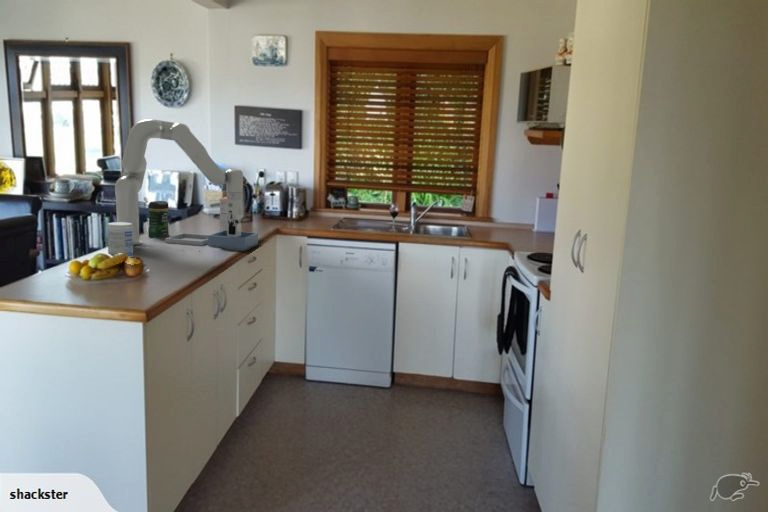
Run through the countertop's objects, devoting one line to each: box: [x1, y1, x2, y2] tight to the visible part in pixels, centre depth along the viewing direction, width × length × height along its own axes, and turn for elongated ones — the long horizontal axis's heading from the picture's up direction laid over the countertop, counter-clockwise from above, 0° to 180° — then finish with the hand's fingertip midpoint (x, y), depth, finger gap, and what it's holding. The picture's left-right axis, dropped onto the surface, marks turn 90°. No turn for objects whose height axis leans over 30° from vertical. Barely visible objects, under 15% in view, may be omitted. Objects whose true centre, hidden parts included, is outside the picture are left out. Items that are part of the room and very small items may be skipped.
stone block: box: [227, 222, 242, 237], centre depth 292 cm, size 5×5×6 cm
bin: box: [207, 230, 259, 252], centre depth 293 cm, size 18×18×6 cm
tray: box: [164, 232, 209, 247], centre depth 295 cm, size 18×18×3 cm
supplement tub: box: [107, 221, 134, 257], centre depth 251 cm, size 10×10×15 cm
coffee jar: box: [147, 200, 170, 239], centre depth 303 cm, size 10×8×19 cm
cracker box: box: [219, 196, 234, 231], centre depth 317 cm, size 14×6×21 cm, turn 177°
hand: (234, 233), depth 293 cm, fingers closed on stone block, 5 cm apart
